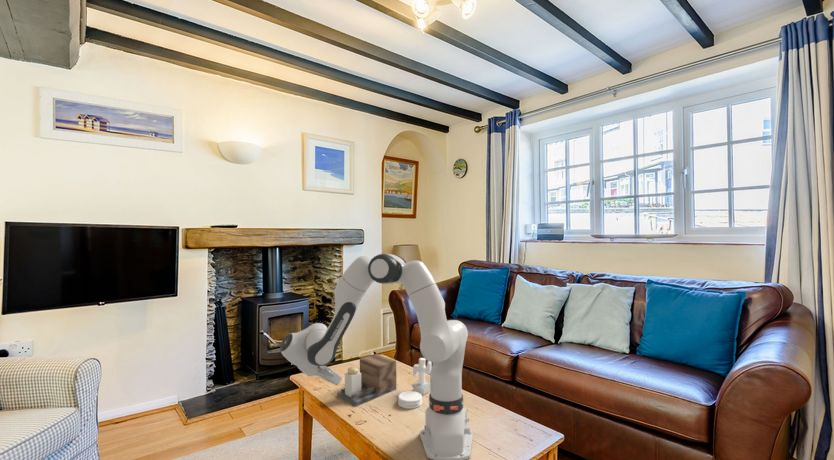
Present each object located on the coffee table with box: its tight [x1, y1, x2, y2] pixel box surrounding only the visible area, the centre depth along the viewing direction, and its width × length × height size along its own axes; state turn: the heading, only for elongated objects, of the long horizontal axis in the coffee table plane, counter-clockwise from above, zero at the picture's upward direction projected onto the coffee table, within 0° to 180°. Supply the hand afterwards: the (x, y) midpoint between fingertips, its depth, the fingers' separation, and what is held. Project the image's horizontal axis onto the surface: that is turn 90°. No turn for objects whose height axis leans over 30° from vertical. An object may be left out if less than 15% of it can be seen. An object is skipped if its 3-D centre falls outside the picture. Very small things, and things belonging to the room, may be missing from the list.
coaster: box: [397, 390, 423, 410], centre depth 157 cm, size 10×10×4 cm
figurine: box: [410, 357, 432, 396], centre depth 168 cm, size 7×9×15 cm
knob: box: [344, 366, 361, 397], centre depth 162 cm, size 5×5×11 cm
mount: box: [336, 353, 397, 407], centre depth 168 cm, size 22×14×13 cm, turn 136°
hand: (333, 381), depth 155 cm, fingers closed
